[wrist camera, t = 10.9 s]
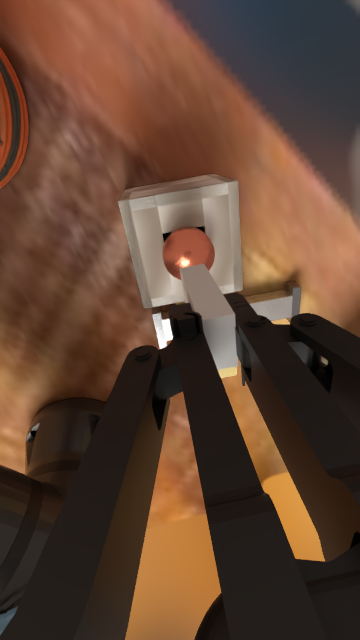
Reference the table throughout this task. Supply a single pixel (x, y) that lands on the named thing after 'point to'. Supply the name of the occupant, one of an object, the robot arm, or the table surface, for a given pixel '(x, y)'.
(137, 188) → the grey open box
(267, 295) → the rail
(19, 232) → the table surface
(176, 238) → the plunger
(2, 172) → the beer stein
